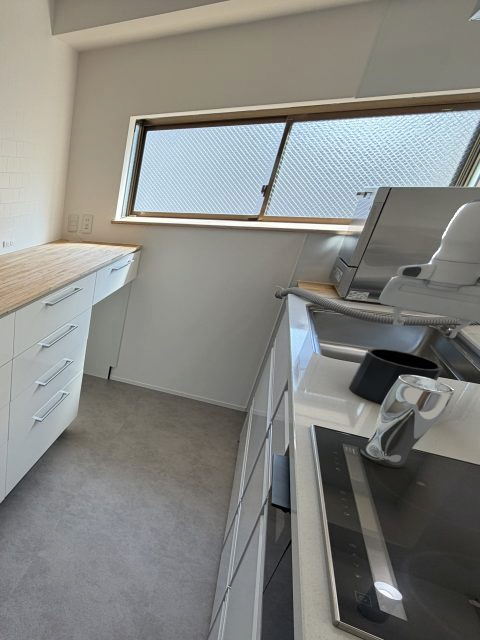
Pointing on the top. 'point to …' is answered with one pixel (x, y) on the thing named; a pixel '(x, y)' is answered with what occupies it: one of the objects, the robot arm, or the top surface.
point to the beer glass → (406, 418)
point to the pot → (389, 372)
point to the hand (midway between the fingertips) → (422, 331)
